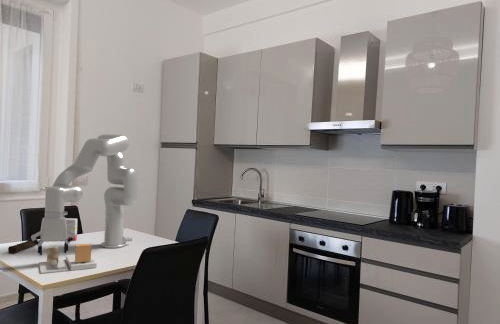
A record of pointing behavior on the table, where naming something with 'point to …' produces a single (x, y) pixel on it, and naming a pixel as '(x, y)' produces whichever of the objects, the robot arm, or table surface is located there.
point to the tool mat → (47, 268)
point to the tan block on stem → (52, 257)
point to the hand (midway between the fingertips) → (53, 253)
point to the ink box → (71, 227)
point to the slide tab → (82, 253)
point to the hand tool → (21, 246)
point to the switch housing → (80, 263)
